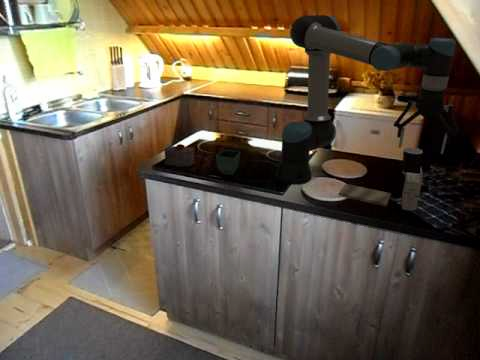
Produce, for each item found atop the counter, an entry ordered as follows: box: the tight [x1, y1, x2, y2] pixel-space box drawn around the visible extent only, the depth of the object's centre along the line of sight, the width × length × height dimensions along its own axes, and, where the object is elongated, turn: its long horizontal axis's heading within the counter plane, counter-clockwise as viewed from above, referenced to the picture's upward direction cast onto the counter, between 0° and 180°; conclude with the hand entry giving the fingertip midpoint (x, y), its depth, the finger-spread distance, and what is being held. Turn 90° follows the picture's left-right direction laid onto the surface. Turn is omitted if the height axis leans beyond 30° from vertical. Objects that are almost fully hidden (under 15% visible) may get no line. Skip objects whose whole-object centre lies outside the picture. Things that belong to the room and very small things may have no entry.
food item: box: [164, 143, 195, 168], centre depth 177 cm, size 14×8×10 cm, turn 82°
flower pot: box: [215, 149, 241, 176], centre depth 169 cm, size 9×9×9 cm
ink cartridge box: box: [400, 167, 424, 211], centre depth 141 cm, size 9×5×15 cm, turn 161°
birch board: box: [338, 183, 392, 207], centre depth 151 cm, size 18×10×1 cm, turn 61°
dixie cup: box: [401, 146, 423, 176], centre depth 170 cm, size 8×8×11 cm
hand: (420, 149), depth 135 cm, fingers open, 13 cm apart
